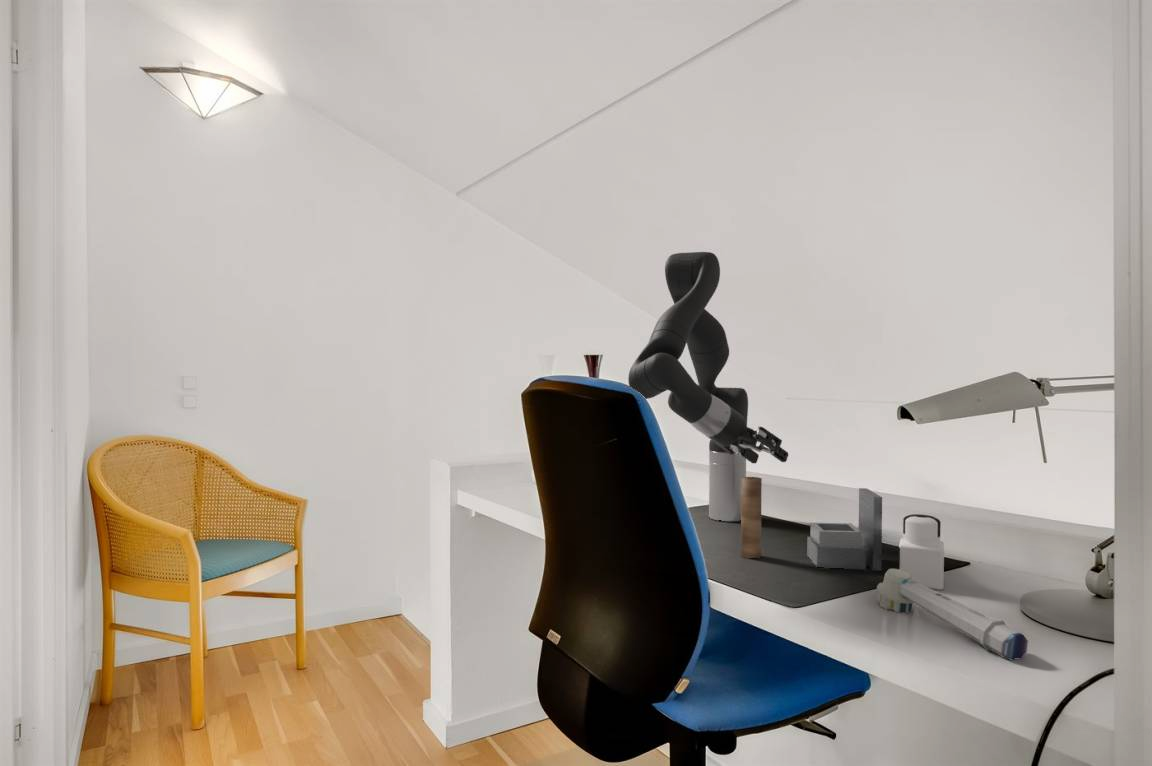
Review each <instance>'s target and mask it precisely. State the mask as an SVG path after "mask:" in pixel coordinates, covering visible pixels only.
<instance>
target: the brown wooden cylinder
mask: <svg viewBox="0 0 1152 766" xmlns="http://www.w3.org/2000/svg"><path fill="white" fill-rule="evenodd" d="M762 479H763V478H761V477H758V476H746V477H742V478H741V521H740V557H741V556H742V557H741V558H743V557H746V558H745V559H747V558H759V559H761V558H762V485H763V484H762ZM760 557H761V558H760Z"/></svg>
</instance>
